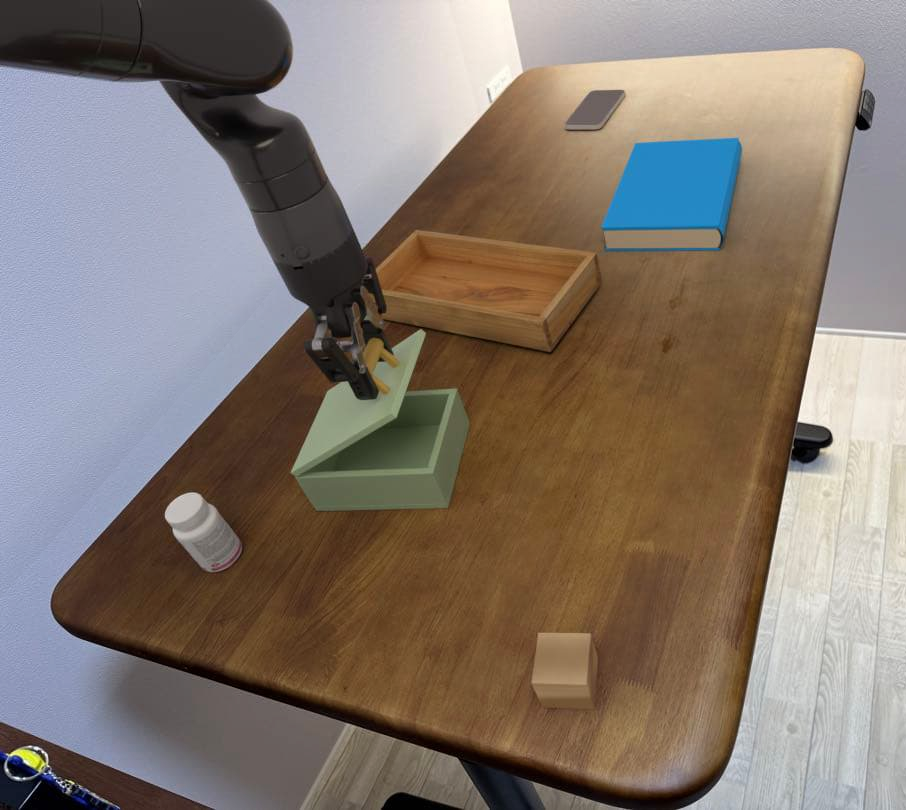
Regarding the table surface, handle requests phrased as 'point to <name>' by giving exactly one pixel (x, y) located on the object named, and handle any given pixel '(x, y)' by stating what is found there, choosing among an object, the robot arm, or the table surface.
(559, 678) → the block
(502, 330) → the tray
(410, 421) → the green box
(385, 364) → the cover
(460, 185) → the table surface
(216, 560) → the pill bottle
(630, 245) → the book
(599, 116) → the smartphone
